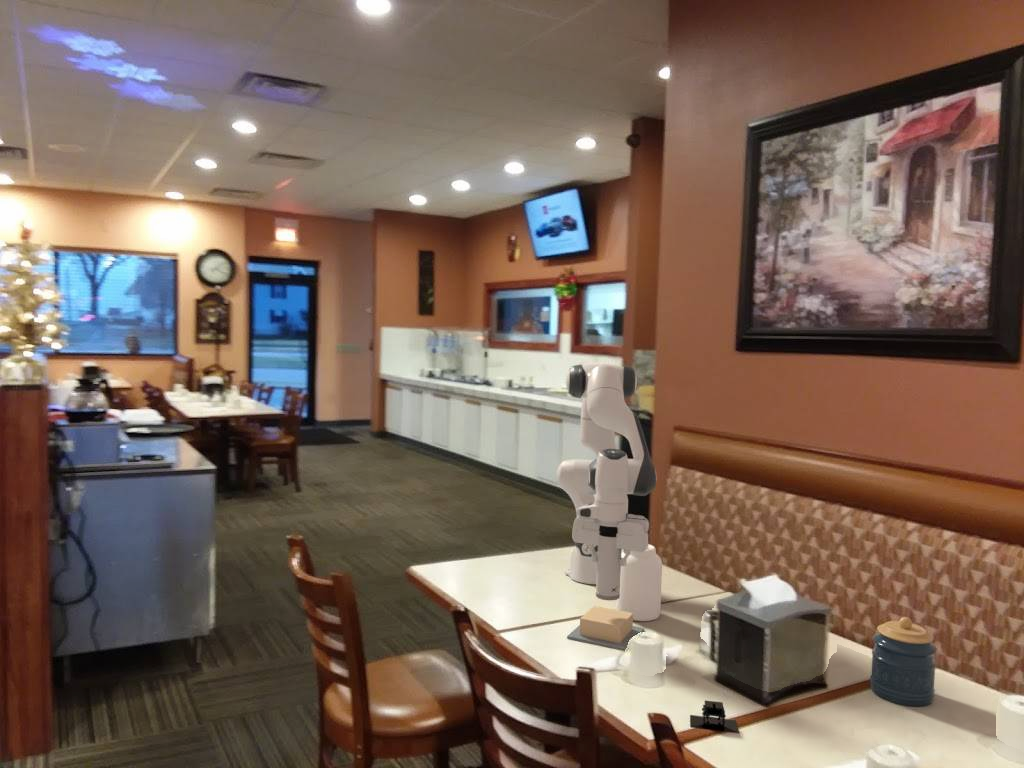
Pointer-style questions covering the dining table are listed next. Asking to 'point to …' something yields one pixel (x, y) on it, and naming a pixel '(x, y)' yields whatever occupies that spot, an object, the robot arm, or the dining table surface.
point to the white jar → (641, 585)
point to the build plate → (713, 718)
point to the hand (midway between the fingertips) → (608, 563)
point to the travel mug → (608, 565)
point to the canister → (903, 663)
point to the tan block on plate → (606, 628)
